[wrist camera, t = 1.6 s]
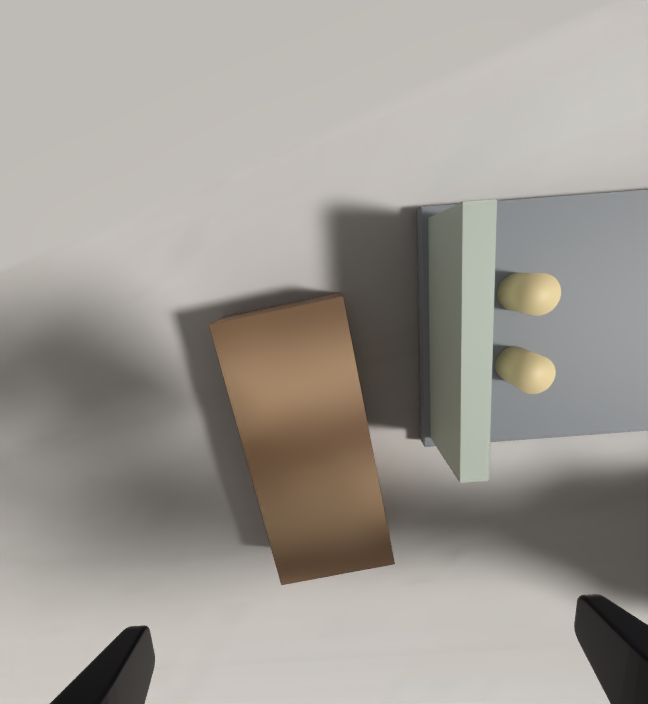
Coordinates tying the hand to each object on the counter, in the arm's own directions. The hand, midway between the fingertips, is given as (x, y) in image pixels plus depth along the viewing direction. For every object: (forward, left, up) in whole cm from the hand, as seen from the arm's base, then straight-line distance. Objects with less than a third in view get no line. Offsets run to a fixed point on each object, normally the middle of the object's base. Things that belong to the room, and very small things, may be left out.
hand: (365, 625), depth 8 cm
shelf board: (-1, +1, -13) cm, 13 cm away
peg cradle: (+4, -15, -13) cm, 19 cm away
